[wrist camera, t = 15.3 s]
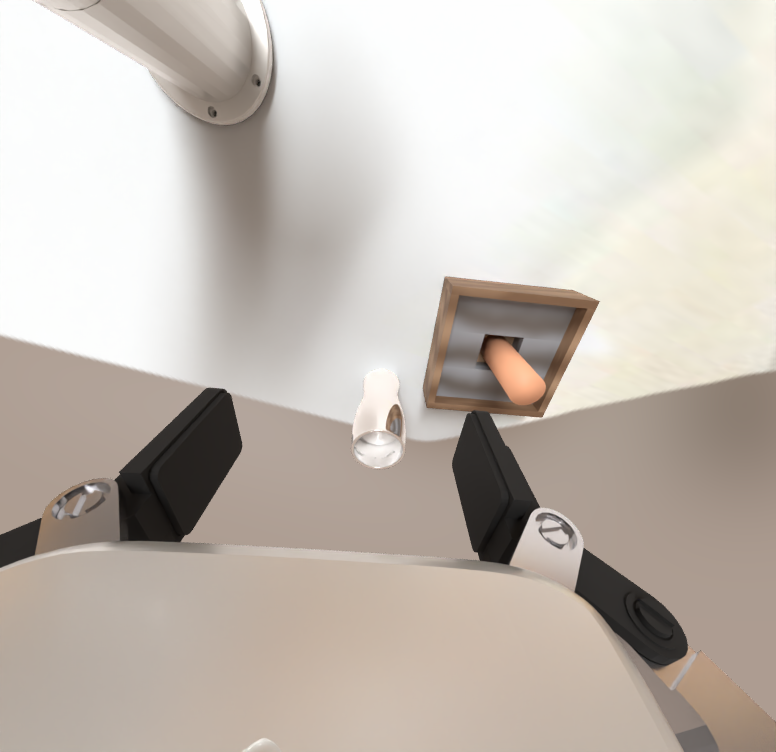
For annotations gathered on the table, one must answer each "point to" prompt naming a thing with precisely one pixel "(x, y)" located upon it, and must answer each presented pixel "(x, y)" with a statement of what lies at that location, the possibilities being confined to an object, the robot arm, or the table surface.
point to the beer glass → (379, 422)
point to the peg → (512, 371)
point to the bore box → (517, 325)
